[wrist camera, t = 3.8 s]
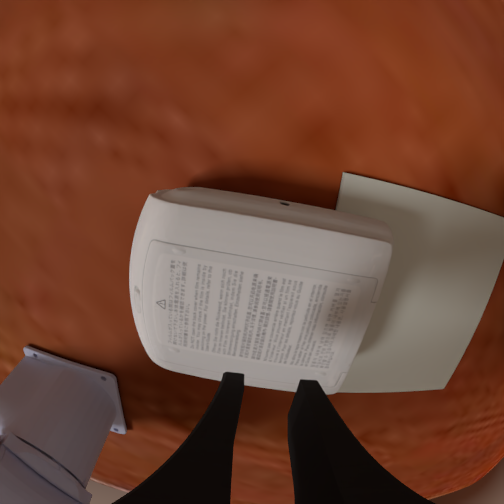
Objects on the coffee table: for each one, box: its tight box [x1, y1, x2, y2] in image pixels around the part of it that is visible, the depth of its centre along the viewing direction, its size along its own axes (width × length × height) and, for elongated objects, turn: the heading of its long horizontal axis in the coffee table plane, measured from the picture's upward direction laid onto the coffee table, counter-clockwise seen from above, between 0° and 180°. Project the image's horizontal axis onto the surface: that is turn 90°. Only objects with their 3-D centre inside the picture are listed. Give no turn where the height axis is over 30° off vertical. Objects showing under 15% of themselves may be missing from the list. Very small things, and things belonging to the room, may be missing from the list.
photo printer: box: [129, 187, 394, 394], centre depth 16 cm, size 10×4×12 cm
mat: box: [336, 172, 504, 393], centre depth 18 cm, size 14×15×1 cm
